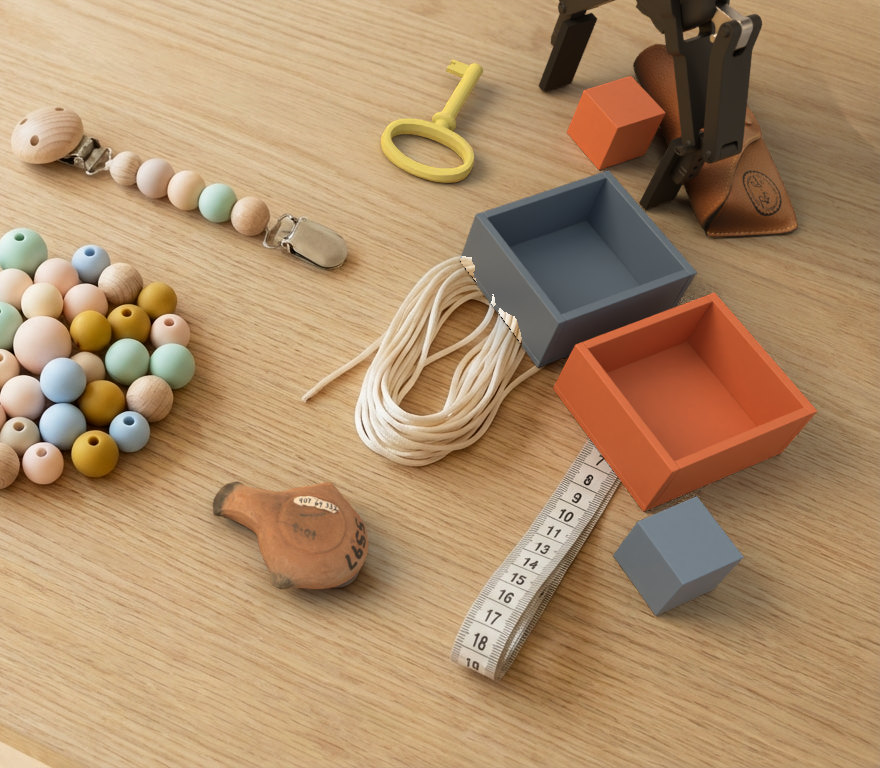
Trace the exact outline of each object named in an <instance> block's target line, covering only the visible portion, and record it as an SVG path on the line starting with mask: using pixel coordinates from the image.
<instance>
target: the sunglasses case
mask: <svg viewBox="0 0 880 768" xmlns="http://www.w3.org/2000/svg"><path fill="white" fill-rule="evenodd" d="M632 67H633V72H634V75H635V77H636V79H637V80H638V81H637V82H638V84H639V85H640V86H641V87H642V88H643V89H644V90H645V91H646V92H647V93H648V94H649V95H650V97H651V98H652V99H653V100H654V101H655V102H656V103H657V104H658V105H659V106H660V107H661V108H662V109H663V110H664V112H665V115H664V117H663V119H662V121H661V123H660V125H659V128H660V131H661V133H662V136H663V139H664V142H665V143H666V145H667V147H668V146H669V144H670V142H671V140H673V139H676V138H679V137H681V128H680V119H679V109H678V100H677V90H676V81H675V71H674V62H673V57H672V56H671V55H669V54H668V53H667V51H666V44H665V43H655V44H652V45H650V46H648V47H646V48H644V49H643V50H642V51H641V52H640V53H639V54H638V55H637V56H636V57H635V59H634V60H633V65H632ZM701 130H702V131H704V129H701ZM701 130H700V131H701ZM682 186H683V188H684V190H685V192H686V194H687V195H686V196H687V197H688V200H689V203H690V206H691V208H692V210H693V213H694V215H695V218H696V220H697V222H698V224H699V226H700V227H701V228H702V230H703V232H704V234H705V236H706V237H708V238H713V239H714V238H753V237H754V238H755V237H764V236H765V237H766V236H775V235H785V234H789V233H792V232H793V233H794V232H795V231H796V230H797V229H798V228H799V224H798V219H797V216H796V215H797V214H796V213H795V209H794V206H793V203H792V200H791V199H790V196H789V194H788V191H787V189H786V186H785V184H784V181H783V179H782V177H781V175H780V172H779V170H778V169H777V166H776V164H775V162H774V160H773V157H772V155H771V152H770V151H769V149H768V146H767V144H766V142H765V141H764V139H763V131H762V129H761V126H760V124H759V122H758V119H757V117H756V116H755V114H754V113H753V111H752V110H751V109H750V107H749V105H748V104H747V109H746V119H745V129H744V139H743V149H742V152H741V153H740V154H738V155H735V156H732V157H729V158H726V159H723V160H720V161H717V162H714V163H711V164H708V163H706V162H705V163H704V165H703V166H702V169H701V170H700V172H699V174H698V176H697V177H696V178H694V179H693V180H690V181H687V182H684V183H683V185H682Z"/></svg>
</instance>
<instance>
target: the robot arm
mask: <svg viewBox="0 0 880 768" xmlns="http://www.w3.org/2000/svg"><path fill="white" fill-rule="evenodd" d="M615 1H616V0H558V4H557V11H558V13H559V14H558V17H557V20H556V23H555V25H554V28H553V31H552V33H551V36H550V44H551V46H552V49H551V51H550V54H549V57H548V60H547V61H546V62H547V63H546V64H545V68H544V70H543V73H542V75H541V77H540V81H539V83H538V88H539V89H540V90H541V91H542V92H543V93H546V92H548V91H549V92H550V91H552V90H555V89H558V88H562V87H565V86H568V85H571V84H572V83H573V81H574V78H575V76H576V74H577V71H578V68H579V65H580V64H581V61H582V58H583V57H584V54H585V51H586V48H587V46H588V44H589V41H590V38H591V36H592V33H593V31H594V29H595V26H596V23H597V21H598V17H596V15H595V14H594V13H593V12H590V13H587V12H588V11H590V10H593V9H597V8H599V7H602V6H604V5H606V4H607V5H608V4H610V3H612V2H615ZM635 1H636V5H635V8H636V9H637V10H638V11H639V12H640V13H641V15H644V16H645V17H647V18H649V19H650V21H651V23H652V25H653V26H654V27H655V29H656V30H657V31H658V32H659V33H660V34H661V35H664V44H665V45H666V51H667V53H668V54H669V55H671V56H672V57H673V62H674V71H675V81H676V90H677V100H678V109H679V119H680V128H681V137H679V138H676V139H673V140H671V142H670V144H669V146H667V147H666V150H665V152H664V154H663V155H662V157H661V160H660V161H659V164H658V165H657V167H656V170H655V172H654V173H653V175H652V177H651V179H650V180H649V183H648V185H647V187H646V189H645V191H644V192H643V195H642V197H641V198H640V201H639V203H638V204H639V206H640V207H641V208H642V209H643V210H644V211H645V210H650V209H652V208H655V207H658V206H661V205H663V204H667V203H669V202H670V203H671V202H672V201H675V200H676V197H677V195H678V194H679V192H680V190H681V189H682V186H684V185H683V183H684V182H687V181H690V180H693V179H694V178H696V177H697V176H698V174H699V172H700V170H701V169H702V166H703V165H704V163H705V162H706V163H708V164H711V163H714V162H717V161H720V160H723V159H726V158H729V157H732V156H735V155H738V154H740V153H741V152H742V149H743V139H744V129H745V119H746V109H747V105H748V99H749V98H748V97H749V88H750V79H751V78H750V77H751V68H752V59H753V58H752V57H753V49H754V47H755V44H756V43H757V39H758V38H759V35H760V32H761V30H762V26H763V20H762V17H761V16H760V15H759V14H757V13H752V14H748V15H745V16H744V15H743V14H741V13H740V12H739V11H738V10H736V9H735V8H734V7H732V6H731V5H730V4H731V1H730V0H635ZM697 28H698V34H697V35H696V36H692V37H690V38H686V39H684V33H687V32H691V31H693V30H694V29H697ZM701 129H704V131H702V130H701ZM700 130H701V131H700Z"/></svg>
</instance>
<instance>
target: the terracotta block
mask: <svg viewBox="0 0 880 768" xmlns="http://www.w3.org/2000/svg"><path fill="white" fill-rule="evenodd" d="M664 115H665V112H664V110H663V109H662V108H661V107H660V106H659V105H658V104H657V103H656V102H655V101H654V100H653V99H652V98H651V97H650V95H649V94H648V93H647V92H646V91H645V90H644V89H643V88H642V87H641V86H640V84H639V82H638V81H637V80H636V79H635V78H634V77H633V76H632V75H629V76H625V77H622V78H619V79H616V80H613V81H609V82H606V83H603V84H599V85H596V86H592V87H590V88H586V89H584V90H583V92H582V93H581V96H580V98H579V101H578V104H577V106H576V109H575V111H574V114H573V116H572V119H571V121H570V123H569V126H568V128H567V131H566V134H567V135H568V136H569V137H570V138H571V140H572V141H573V142H574V143H575V144H576V145H577V146H578V148H579V149H580V150H581V151H582V152H583V154H584V155H585V156H586V157H587V158H588V159H589V160H590V162H591V163H592V164H593V165H594V166H595V167H596V169H597V170H599V171H600V170H603V169H607V168H610V167H612V166H615V165H619V164H622V163H624V162H627V161H631V160H635V159H637V158H639V157H643V156H645V155H646V154H647V152H648V150H649V147H650V146H651V144H652V142H653V140H654V137H655V136H656V134H657V131H658V129H659V128H660V126H659V125H660V123H661V121H662V119H663V117H664Z"/></svg>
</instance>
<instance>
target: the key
mask: <svg viewBox="0 0 880 768" xmlns="http://www.w3.org/2000/svg"><path fill="white" fill-rule="evenodd" d="M445 72H446V73H448V74H451V75H454V76H455V77H456V76H457V77H459V78H461V79H460V81H459V82H458V84H457V85H456V87H455V89H454V91H453V92H452V94H451V96H450V97H449V99H448V101H447V102H446V104H445V105H444V107H443V109H442V110H441V111H438V112H436V113H434V114H433V116H432V118H431V121H428V120H425V119H420V118H410V117H409V118H408V117H407V118H404V117H403V118H399V119H395V120H394V121H392V122H390V123H389V124H388V125H387V126H386V127H385V128H384V131H383V133H382V135H381V136H380V147H381V148H380V149H381V152H382V153H383V155H384V156H385V157H386V159H388V161H389V162H391V163H392V164H393V165H394V166H396V167H397V168H398V169H401V170H402V171H404V172H406V173H408V174H410V175H412V176H414V177H417V178H420V179H424V180H427V181H431V182H435V183H442V184H443V183H444V184H445V183H446V184H451V183H452V184H453V183H458V182H461V181H463V180H465V179H466V178H467V177H468V175H469V174H470V173H471V171H472V169H473V167H474V163H475V154H474V153H475V152H474V150H473V148H472V146H471V145H470V143H468V142H467V140H466V139H465V138H464V137H462V136H460V135H459V134H458V133H457V132H455V129H456V128H457V121H456V118H457V116H458V114H459V113H460V111H461V110H462V108H463V106H464V105H465V103H466V101H467V100H468V97H469V96H470V95H471V94H472V92H473V90H474V88H475V86H476V85H477V83H478V82H479V80H480V78H481V76H482V75H483V72H484V68H483V66H482V65H481V64H479V63H476V62H473V63H470V64H467V63H463V62H461V61H459V60H456V59H453V58H452V59H451V60H450V64H448V65H447V67H446V70H445ZM399 135H413V136H420V137H422V138H427V139H430V140H432V141H434V142H438V143H439V144H441V145H444V146H445V147H446V148H449V149H451V151H453V152H455V154H456V155H458V156H459V157H460V158H461V160H462V162H463V164H461V165H459V166H456V167H434V166H430V165H426V164H423V163H421V162H418V161H416V160H413V159H412V158H410V157H409V156H407V155H405V154H404V153H403V152H402V151H401V150H400V149H398V147H397V146H396V145H395V144H394V143H393V140H392V139H393V138H394V137H396V136H399Z"/></svg>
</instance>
